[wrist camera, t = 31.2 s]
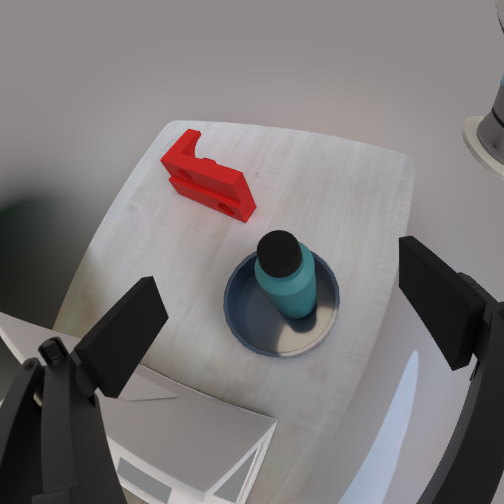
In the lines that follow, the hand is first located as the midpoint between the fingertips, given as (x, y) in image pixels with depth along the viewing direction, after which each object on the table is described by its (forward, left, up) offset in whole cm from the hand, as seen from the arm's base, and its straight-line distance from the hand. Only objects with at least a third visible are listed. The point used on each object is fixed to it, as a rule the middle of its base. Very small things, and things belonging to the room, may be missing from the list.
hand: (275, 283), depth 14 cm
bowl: (+4, -5, -30) cm, 30 cm away
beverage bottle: (+3, -6, -29) cm, 30 cm away
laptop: (+18, +25, -30) cm, 43 cm away
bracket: (+22, -26, -30) cm, 45 cm away
